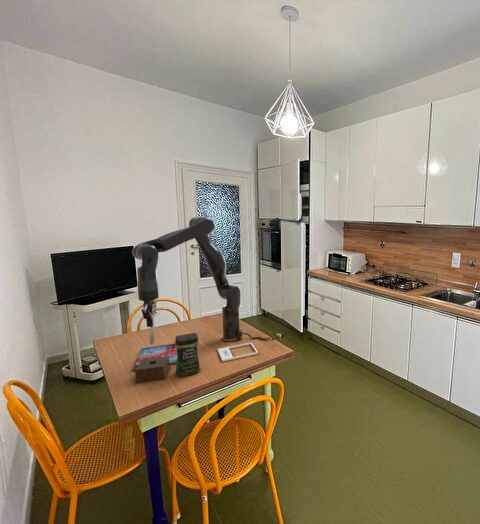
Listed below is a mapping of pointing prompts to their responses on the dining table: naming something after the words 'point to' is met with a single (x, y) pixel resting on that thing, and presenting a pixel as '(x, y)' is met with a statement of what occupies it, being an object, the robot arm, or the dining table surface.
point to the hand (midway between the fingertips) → (150, 325)
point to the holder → (152, 369)
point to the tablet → (158, 353)
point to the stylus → (152, 331)
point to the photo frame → (227, 355)
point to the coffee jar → (187, 354)
